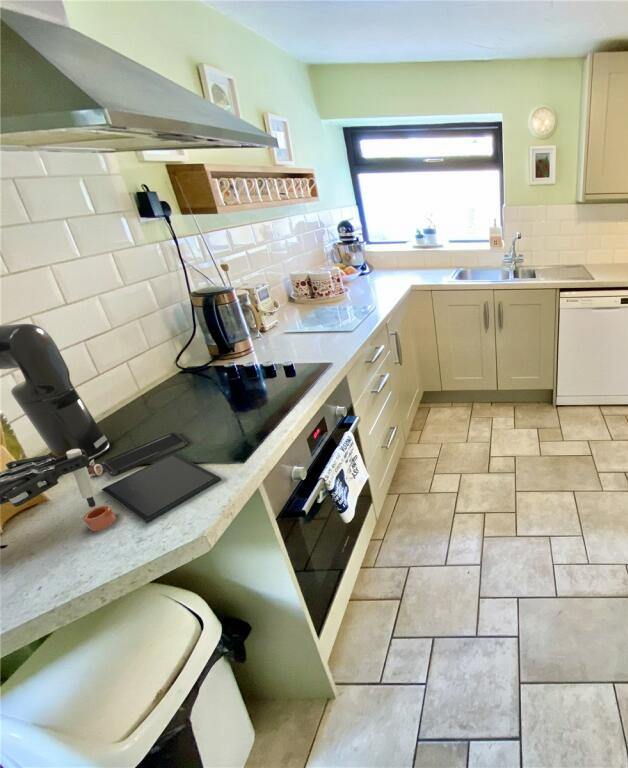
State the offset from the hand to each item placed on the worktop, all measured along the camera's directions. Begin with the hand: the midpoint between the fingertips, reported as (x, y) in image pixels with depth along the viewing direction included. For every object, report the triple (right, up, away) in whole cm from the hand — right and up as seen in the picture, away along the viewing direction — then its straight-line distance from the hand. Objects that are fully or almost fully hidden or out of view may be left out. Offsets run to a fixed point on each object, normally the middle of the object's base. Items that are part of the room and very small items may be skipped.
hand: (86, 456), depth 76 cm
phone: (-10, -4, +25) cm, 27 cm away
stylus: (-1, -10, +3) cm, 10 cm away
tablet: (+2, -9, +14) cm, 17 cm away
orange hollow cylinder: (-1, -14, +5) cm, 15 cm away
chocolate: (-17, -8, +19) cm, 26 cm away
